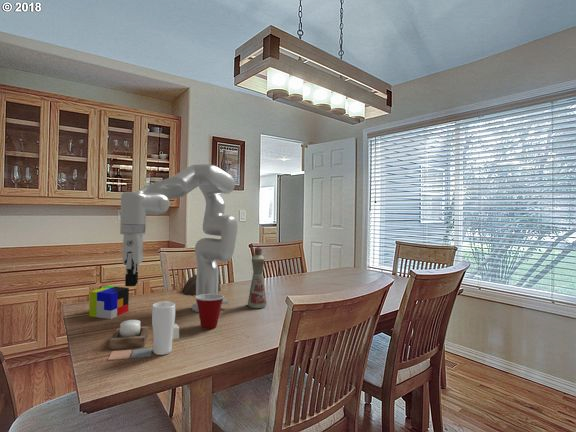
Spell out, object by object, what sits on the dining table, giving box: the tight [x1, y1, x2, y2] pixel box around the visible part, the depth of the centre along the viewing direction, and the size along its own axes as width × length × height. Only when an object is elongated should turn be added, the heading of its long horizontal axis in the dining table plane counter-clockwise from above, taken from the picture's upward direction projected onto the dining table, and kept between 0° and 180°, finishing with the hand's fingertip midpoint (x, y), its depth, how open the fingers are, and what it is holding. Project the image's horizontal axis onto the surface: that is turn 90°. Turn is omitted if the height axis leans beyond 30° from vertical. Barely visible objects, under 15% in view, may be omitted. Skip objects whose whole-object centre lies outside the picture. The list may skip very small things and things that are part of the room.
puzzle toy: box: [88, 285, 130, 320], centre depth 133 cm, size 10×10×10 cm
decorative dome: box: [182, 274, 222, 296], centre depth 174 cm, size 19×20×10 cm
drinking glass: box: [151, 300, 176, 356], centre depth 101 cm, size 7×7×15 cm
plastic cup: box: [195, 294, 225, 330], centre depth 123 cm, size 11×11×12 cm
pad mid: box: [129, 347, 154, 360], centre depth 99 cm, size 6×6×1 cm
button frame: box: [109, 325, 149, 350], centre depth 107 cm, size 10×10×3 cm
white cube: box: [172, 323, 180, 341], centre depth 112 cm, size 4×4×4 cm
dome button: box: [119, 319, 141, 337], centre depth 107 cm, size 6×6×4 cm
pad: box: [107, 349, 133, 361], centre depth 97 cm, size 6×6×1 cm
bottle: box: [247, 246, 267, 309], centre depth 151 cm, size 9×9×28 cm
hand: (131, 284), depth 107 cm, fingers closed
